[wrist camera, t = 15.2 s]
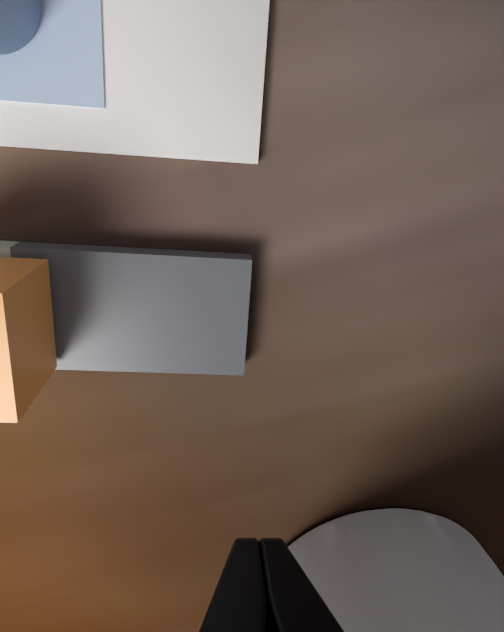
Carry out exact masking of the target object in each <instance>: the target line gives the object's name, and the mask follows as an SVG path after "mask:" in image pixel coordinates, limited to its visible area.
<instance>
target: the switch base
mask: <svg viewBox="0 0 504 632" xmlns="http://www.w3.org/2000/svg"><path fill="white" fill-rule="evenodd" d="M0 257H14V258H34V259H48V264H49V276H50V288H51V300H52V312H53V324H54V336H55V348H56V360H57V367H56V368H55V369H58V370H90V371H121V372H152V373H183V374H214V375H244V369H245V355H246V341H247V328H248V314H249V300H250V286H251V272H252V257H251V254H242V253H224V252H205V251H187V250H168V249H150V248H131V247H113V246H94V245H76V244H57V243H38V242H20V241H1V240H0Z"/></svg>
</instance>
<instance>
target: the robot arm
mask: <svg viewBox="0 0 504 632" xmlns="http://www.w3.org/2000/svg"><path fill="white" fill-rule="evenodd" d="M199 632H344V631H343V629H342V628H341V626H340V625H339V623H338V622H337V620H336V619H335V617H334V616H333V614H332V613H331V611H330V610H329V608H328V607H327V605H326V604H325V602H324V601H323V599H322V598H321V596H320V595H319V593H318V592H317V590H316V589H315V587H314V586H313V584H312V583H311V581H310V580H309V578H308V577H307V575H306V574H305V572H304V571H303V569H302V568H301V566H300V565H299V563H298V562H297V560H296V559H295V557H294V556H293V554H292V553H291V551H290V550H289V548H288V547H287V545H286V544H285V542H284V541H283V540H282V539H280V538H261V539H260V540H259V542H258V540H257V539H256V538H237V539H236V540H235V541H234V543H233V546H232V548H231V551H230V553H229V556H228V559H227V561H226V564H225V566H224V569H223V571H222V574H221V577H220V579H219V582H218V584H217V587H216V589H215V592H214V595H213V597H212V600H211V602H210V605H209V607H208V610H207V612H206V615H205V618H204V620H203V623H202V625H201V628H200V630H199Z"/></svg>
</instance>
